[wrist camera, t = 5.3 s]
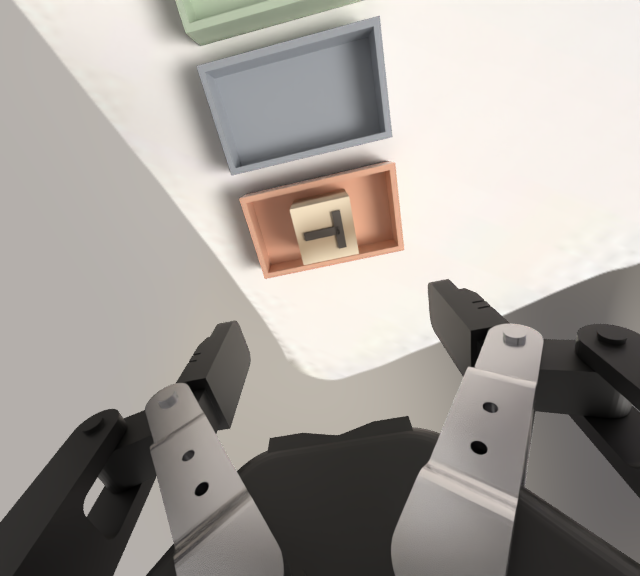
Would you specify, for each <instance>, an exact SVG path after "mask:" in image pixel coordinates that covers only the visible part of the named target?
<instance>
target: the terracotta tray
mask: <svg viewBox="0 0 640 576" xmlns="http://www.w3.org/2000/svg"><path fill="white" fill-rule="evenodd" d="M341 189H345V191H346V192H347V194H348V195H349V198H350V204H351V210H352V216H353V221H354V227H355V233H356V239H357V245H358V250H359V254H355V255H351V256H346V257H341V258H336V259H332V260H327V261H322V262H317V263H312V264H308V265H304V264H303V260H302V256H301V252H300V248H299V245H298V241H297V237H296V233H295V229H294V225H293V221H292V217H291V214H290V208H291V205H292V203H293V201H294V200H297V199H302V198H306V197H310V196H315V195H319V194H323V193H328V192H332V191H337V190H341ZM239 200H240V203H241V206H242V209H243V213H244V216H245V219H246V222H247V225H248V228H249V231H250V234H251V237H252V240H253V244H254V247H255V250H256V253H257V256H258V259H259V262H260V265H261V268H262V271H263V275H264V278H265V279H267V278H272V277H277V276H281V275H286V274H291V273H296V272H301V271H306V270H310V269H315V268H320V267H325V266H330V265H334V264H339V263H344V262H349V261H354V260H359V259H363V258H368V257H373V256H378V255H383V254H388V253H392V252H397V251H402V250H404V243H403V234H402V224H401V215H400V205H399V196H398V186H397V177H396V167H395V162H390V161H386V162H382V163H377V164H373V165H369V166H365V167H360V168H356V169H352V170H347V171H343V172H339V173H335V174H330V175H326V176H322V177H317V178H313V179H309V180H305V181H300V182H296V183H292V184H287V185H283V186H279V187H274V188H270V189H266V190H262V191H257V192H253V193H249V194H246V195H244V196H243V197H241V198H239Z"/></svg>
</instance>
